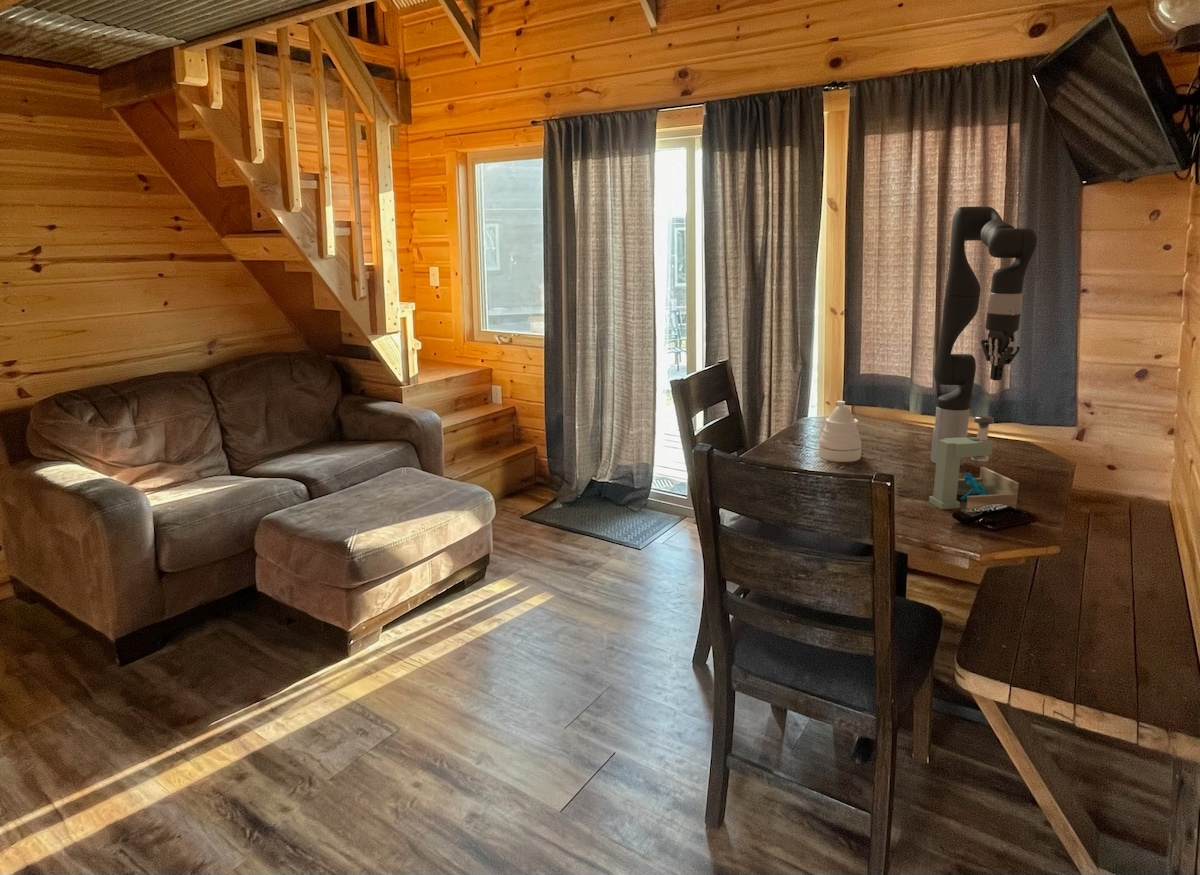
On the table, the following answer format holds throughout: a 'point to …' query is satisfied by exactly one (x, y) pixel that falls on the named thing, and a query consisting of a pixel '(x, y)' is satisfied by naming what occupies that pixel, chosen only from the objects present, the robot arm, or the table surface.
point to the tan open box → (991, 490)
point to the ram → (982, 434)
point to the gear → (973, 486)
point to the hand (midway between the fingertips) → (995, 379)
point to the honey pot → (840, 436)
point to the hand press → (953, 467)
